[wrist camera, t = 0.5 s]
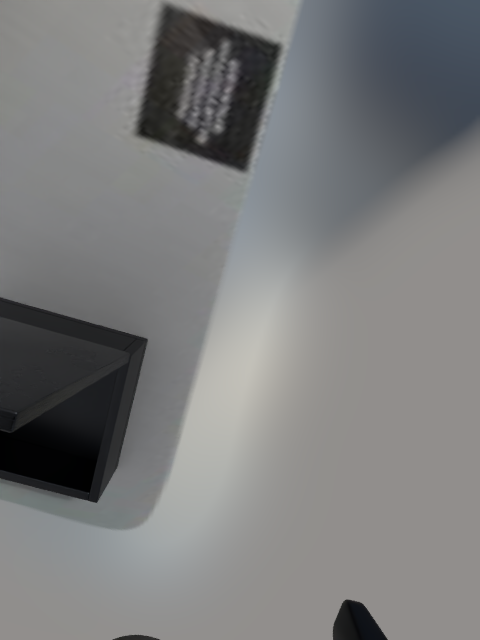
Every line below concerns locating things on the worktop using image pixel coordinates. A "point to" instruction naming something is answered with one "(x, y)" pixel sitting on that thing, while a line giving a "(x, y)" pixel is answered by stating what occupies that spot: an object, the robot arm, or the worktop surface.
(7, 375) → the lid
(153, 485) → the worktop surface
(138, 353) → the black open box
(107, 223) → the worktop surface
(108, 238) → the worktop surface
